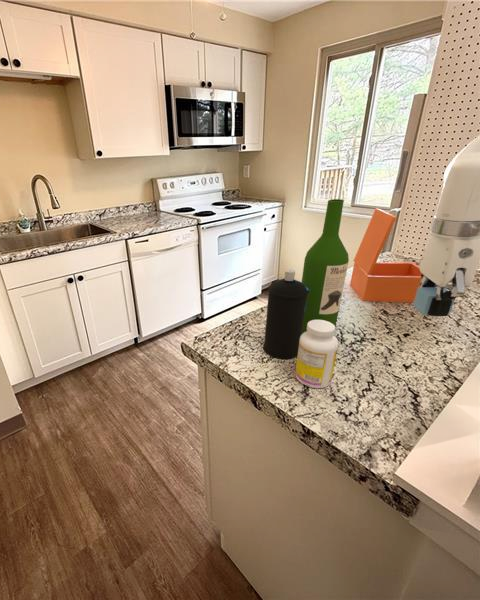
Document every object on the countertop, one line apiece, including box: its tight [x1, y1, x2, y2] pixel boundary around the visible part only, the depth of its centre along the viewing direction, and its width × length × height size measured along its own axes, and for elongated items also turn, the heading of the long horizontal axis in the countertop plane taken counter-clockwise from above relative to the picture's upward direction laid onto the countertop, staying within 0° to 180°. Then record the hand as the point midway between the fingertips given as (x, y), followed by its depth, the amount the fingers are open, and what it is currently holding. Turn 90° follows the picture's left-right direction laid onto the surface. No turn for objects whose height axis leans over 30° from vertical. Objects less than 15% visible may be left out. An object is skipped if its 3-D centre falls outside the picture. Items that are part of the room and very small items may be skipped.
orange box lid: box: [353, 208, 398, 275], centre depth 89 cm, size 16×13×1 cm
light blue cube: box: [412, 287, 456, 317], centre depth 67 cm, size 5×5×5 cm
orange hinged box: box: [349, 261, 422, 304], centre depth 93 cm, size 16×13×8 cm
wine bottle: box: [301, 198, 350, 335], centre depth 73 cm, size 9×9×32 cm
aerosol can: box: [262, 269, 309, 360], centre depth 70 cm, size 8×8×20 cm
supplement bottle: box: [294, 320, 339, 389], centre depth 61 cm, size 7×7×13 cm
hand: (430, 308), depth 68 cm, fingers closed on light blue cube, 4 cm apart
